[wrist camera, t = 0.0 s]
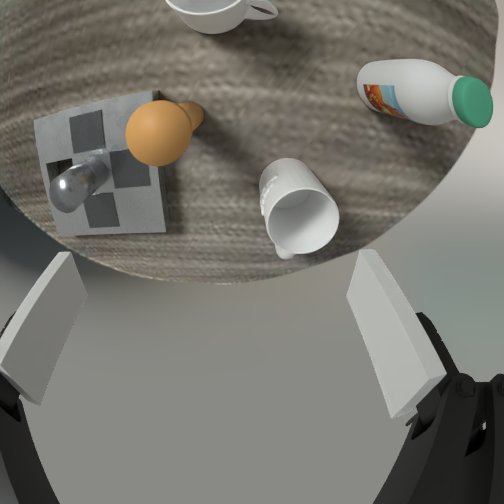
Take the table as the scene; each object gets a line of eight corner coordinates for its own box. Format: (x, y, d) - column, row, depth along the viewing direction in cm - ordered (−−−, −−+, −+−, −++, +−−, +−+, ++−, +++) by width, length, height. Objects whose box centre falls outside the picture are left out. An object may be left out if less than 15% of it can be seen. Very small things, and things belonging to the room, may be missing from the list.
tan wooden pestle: (167, 97, 31) (122, 106, 18) (209, 94, 31) (189, 97, 18) (169, 136, 34) (129, 168, 21) (210, 134, 34) (192, 164, 21)
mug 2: (249, 228, 42) (252, 278, 32) (262, 153, 36) (271, 181, 26) (300, 234, 43) (318, 284, 33) (319, 162, 37) (348, 194, 27)
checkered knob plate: (44, 117, 29) (-2, 133, 20) (158, 90, 30) (127, 92, 21) (67, 227, 40) (35, 264, 31) (170, 222, 41) (152, 265, 32)
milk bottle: (348, 64, 29) (442, 58, 12) (394, 59, 28) (497, 63, 11) (361, 115, 33) (455, 151, 16) (405, 108, 32) (505, 142, 15)
